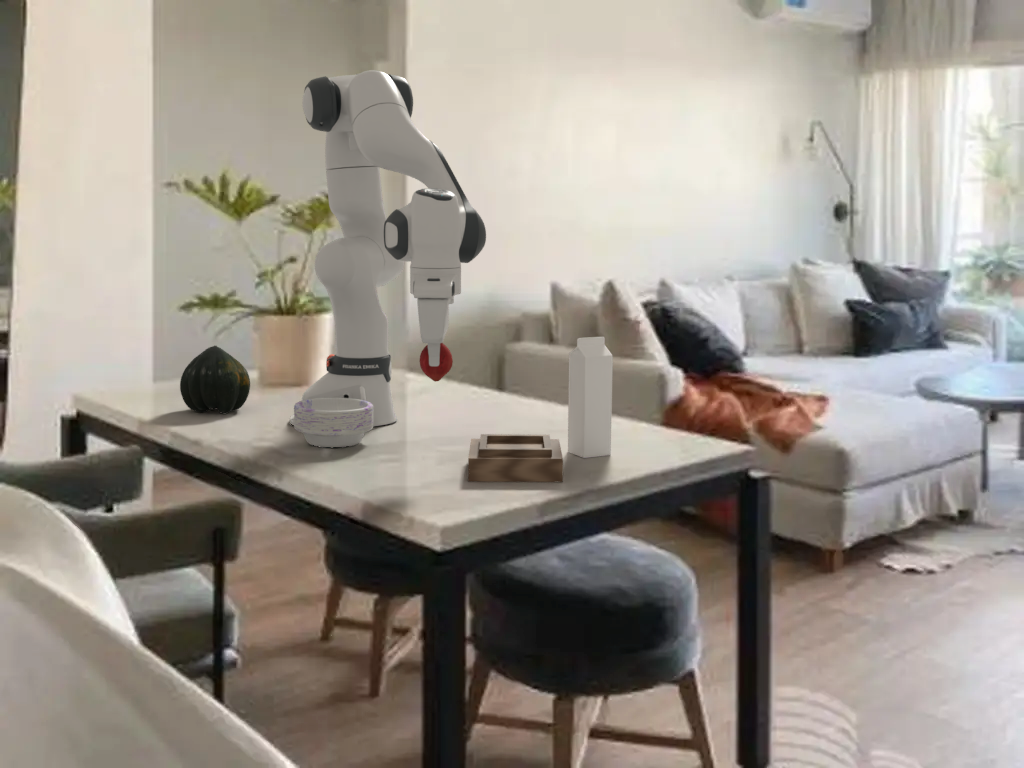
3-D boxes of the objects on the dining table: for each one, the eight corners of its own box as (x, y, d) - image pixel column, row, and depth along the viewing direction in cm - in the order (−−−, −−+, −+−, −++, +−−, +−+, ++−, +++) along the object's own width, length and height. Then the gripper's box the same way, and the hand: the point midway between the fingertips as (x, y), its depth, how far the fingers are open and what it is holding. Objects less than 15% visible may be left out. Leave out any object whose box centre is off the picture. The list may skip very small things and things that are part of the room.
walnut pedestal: (468, 481, 202) (468, 451, 201) (471, 460, 217) (471, 432, 216) (562, 481, 202) (563, 452, 201) (558, 460, 217) (558, 432, 217)
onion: (447, 384, 206) (447, 338, 204) (415, 383, 207) (415, 337, 205) (456, 379, 211) (456, 334, 210) (425, 378, 212) (424, 333, 211)
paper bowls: (387, 446, 229) (386, 405, 227) (313, 455, 221) (312, 413, 219) (353, 432, 241) (352, 393, 240) (282, 440, 233) (281, 400, 232)
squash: (209, 396, 250) (238, 338, 258) (157, 392, 257) (186, 336, 265) (246, 431, 261) (272, 374, 268) (194, 427, 268) (221, 372, 275)
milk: (567, 452, 225) (568, 336, 221) (594, 449, 227) (596, 334, 224) (584, 458, 219) (585, 339, 216) (611, 455, 222) (613, 338, 219)
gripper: (421, 278, 216) (421, 354, 219) (412, 288, 196) (413, 371, 198) (456, 279, 216) (456, 354, 219) (451, 289, 196) (450, 371, 198)
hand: (435, 362), depth 208 cm, fingers closed on onion, 6 cm apart
